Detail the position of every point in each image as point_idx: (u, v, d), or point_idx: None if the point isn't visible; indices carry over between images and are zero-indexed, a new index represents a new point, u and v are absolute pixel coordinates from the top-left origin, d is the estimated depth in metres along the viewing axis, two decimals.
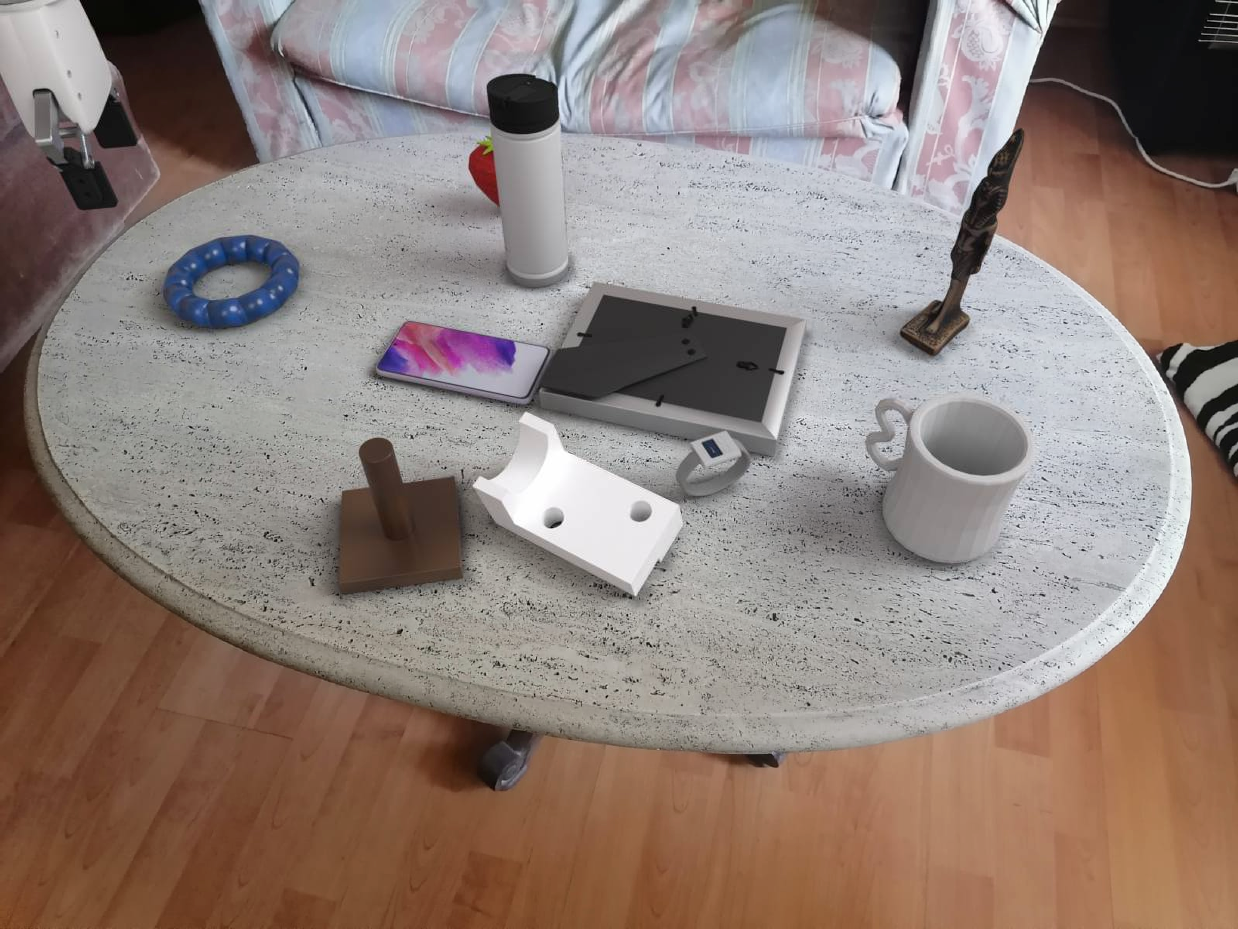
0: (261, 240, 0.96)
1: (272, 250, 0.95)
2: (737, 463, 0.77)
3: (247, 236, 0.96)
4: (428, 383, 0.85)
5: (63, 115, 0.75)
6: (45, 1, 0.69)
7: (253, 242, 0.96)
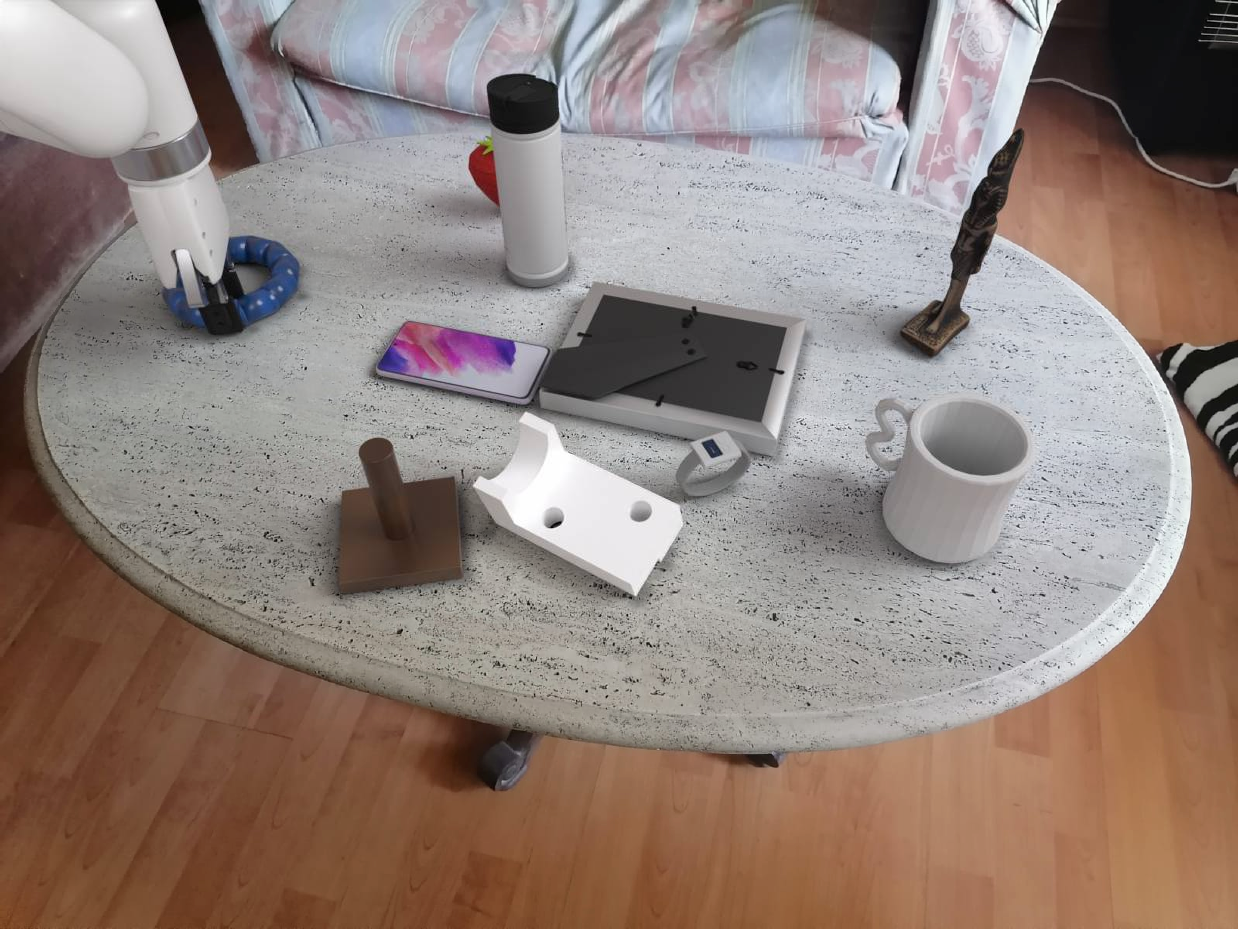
0: (261, 241, 0.96)
1: (272, 251, 0.95)
2: (737, 463, 0.77)
3: (247, 237, 0.96)
4: (428, 383, 0.85)
5: None
6: (187, 175, 0.77)
7: (253, 243, 0.96)
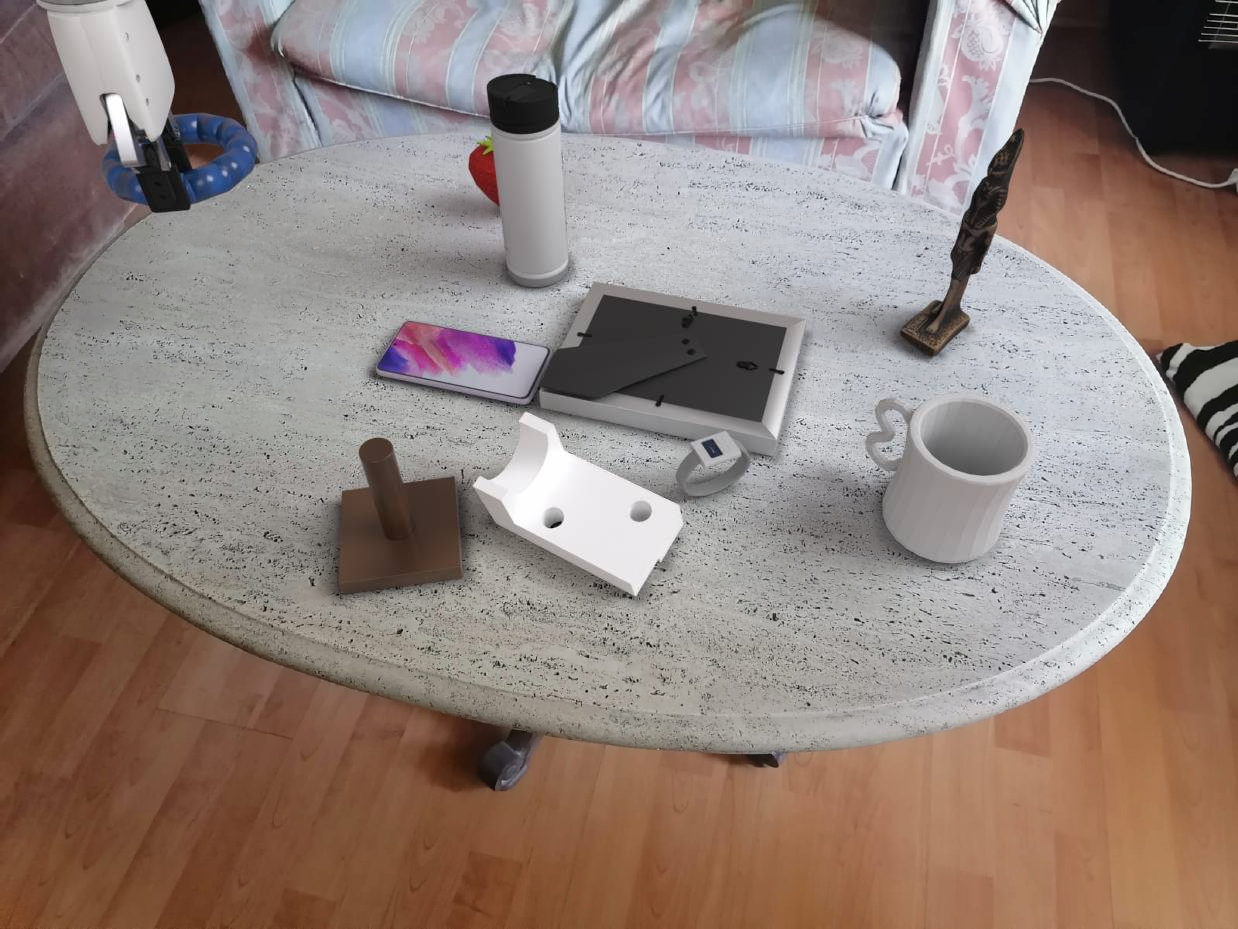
0: (214, 117, 0.85)
1: (226, 127, 0.84)
2: (737, 463, 0.77)
3: (199, 114, 0.86)
4: (428, 383, 0.85)
5: None
6: (117, 2, 0.66)
7: (205, 120, 0.85)
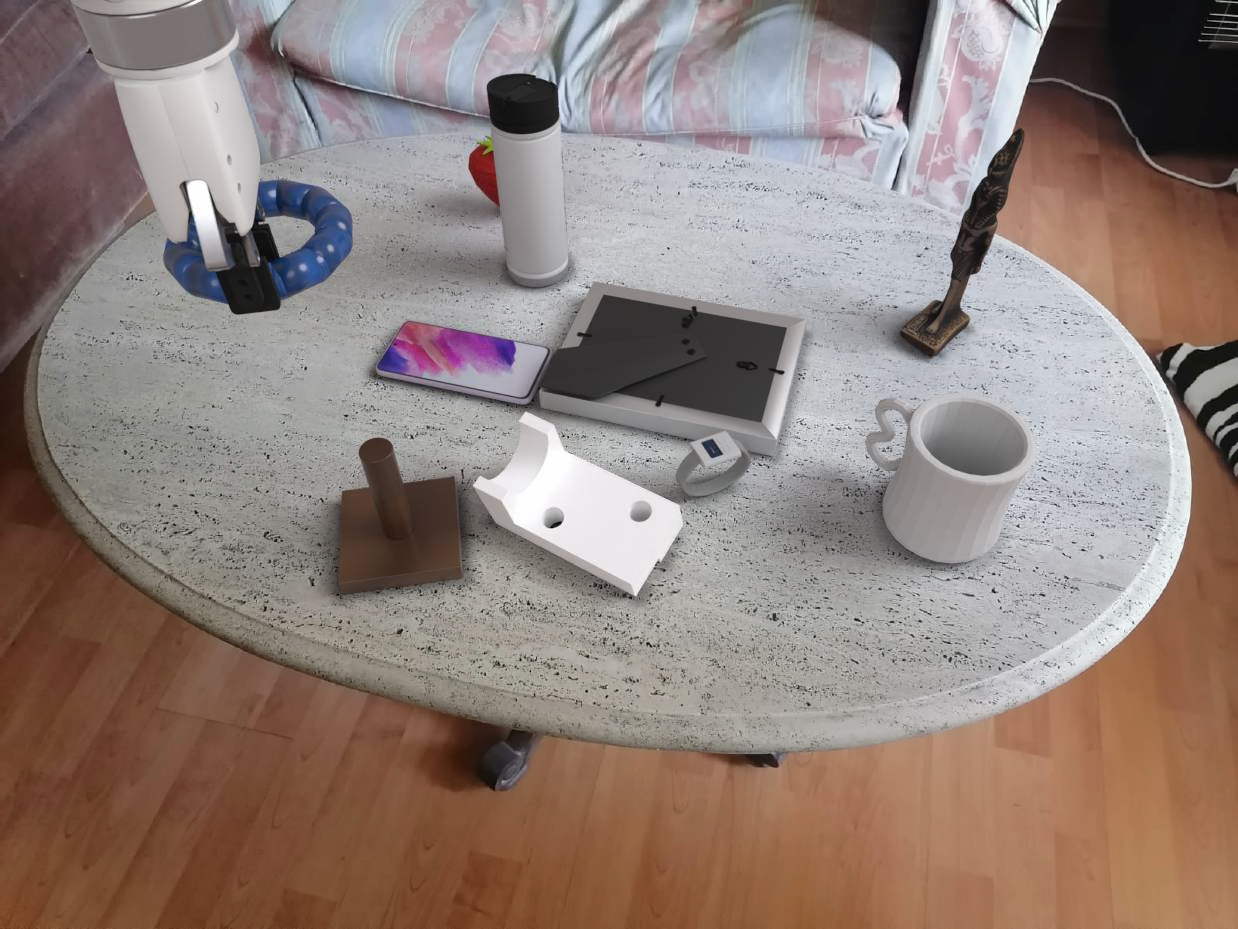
0: (298, 186, 0.69)
1: (314, 199, 0.68)
2: (737, 463, 0.77)
3: (278, 181, 0.70)
4: (428, 383, 0.85)
5: None
6: (205, 64, 0.50)
7: (287, 189, 0.69)
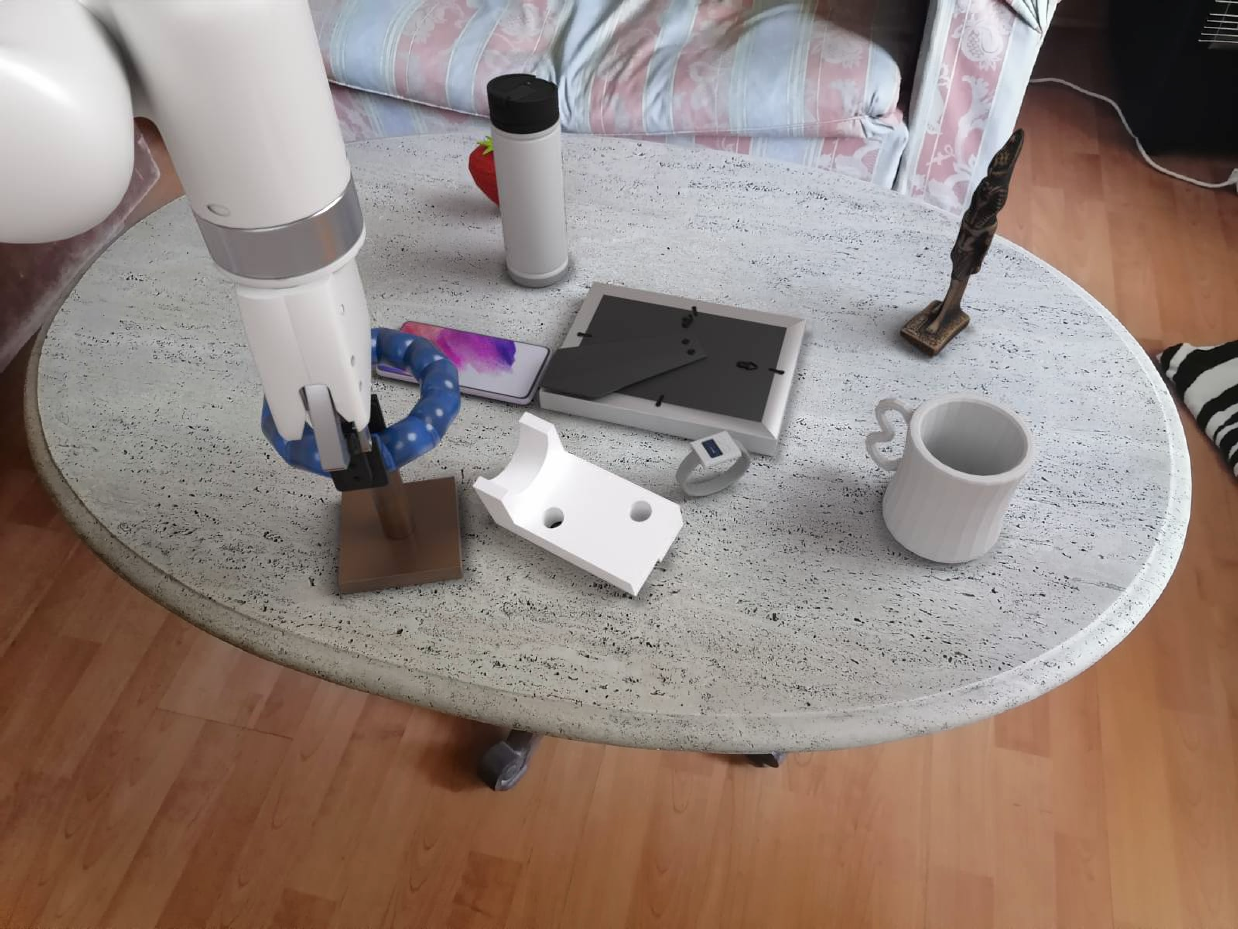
0: (400, 337, 0.65)
1: (419, 353, 0.64)
2: (737, 463, 0.77)
3: (378, 331, 0.65)
4: None
5: None
6: (333, 268, 0.45)
7: (388, 340, 0.65)
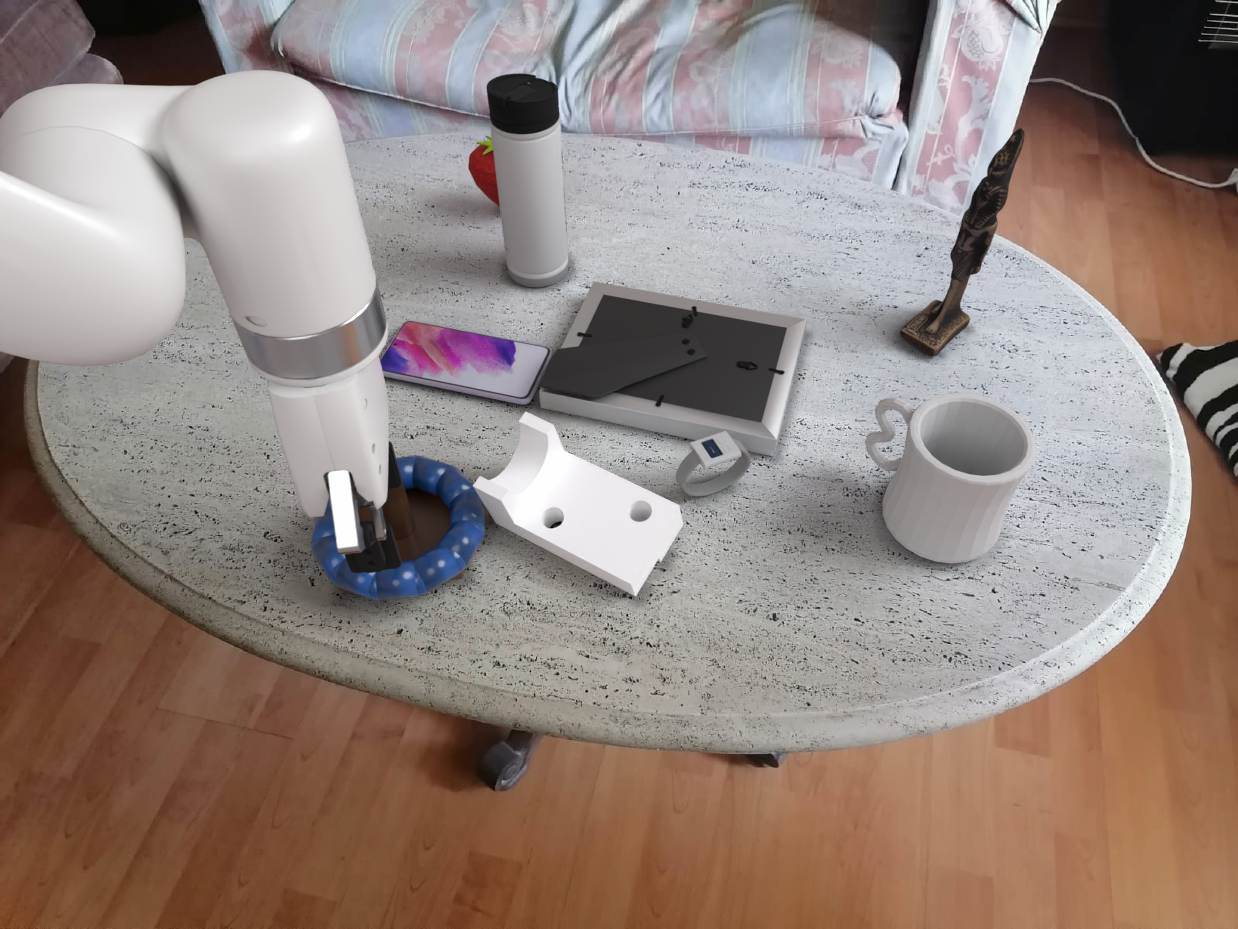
0: (433, 467, 0.74)
1: (449, 484, 0.73)
2: (737, 463, 0.77)
3: (414, 460, 0.74)
4: (428, 383, 0.85)
5: None
6: (358, 368, 0.49)
7: (423, 469, 0.74)
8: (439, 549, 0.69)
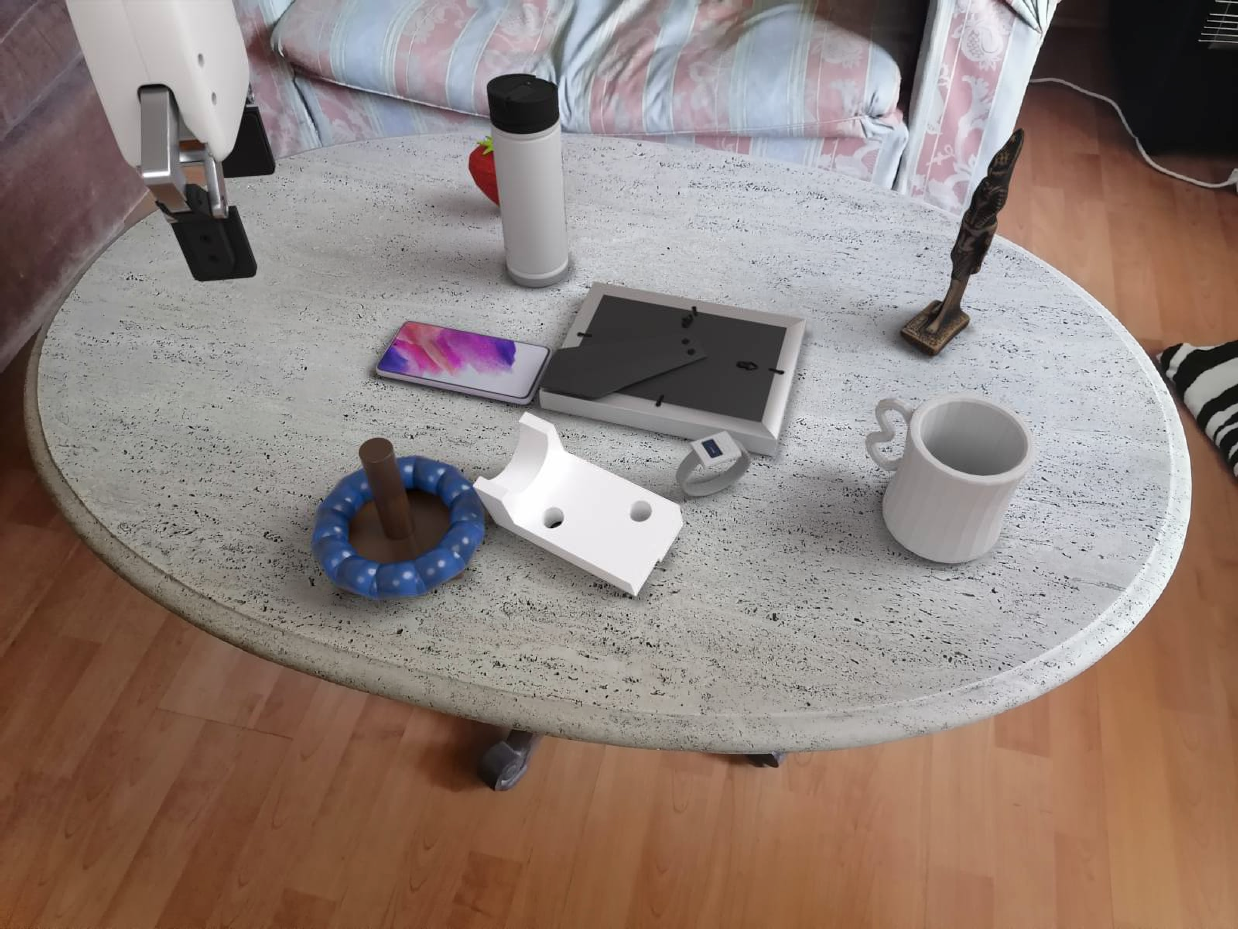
0: (433, 467, 0.74)
1: (449, 484, 0.73)
2: (737, 463, 0.77)
3: (414, 460, 0.74)
4: (428, 383, 0.85)
5: (181, 130, 0.45)
6: None
7: (423, 469, 0.74)
8: (439, 549, 0.69)
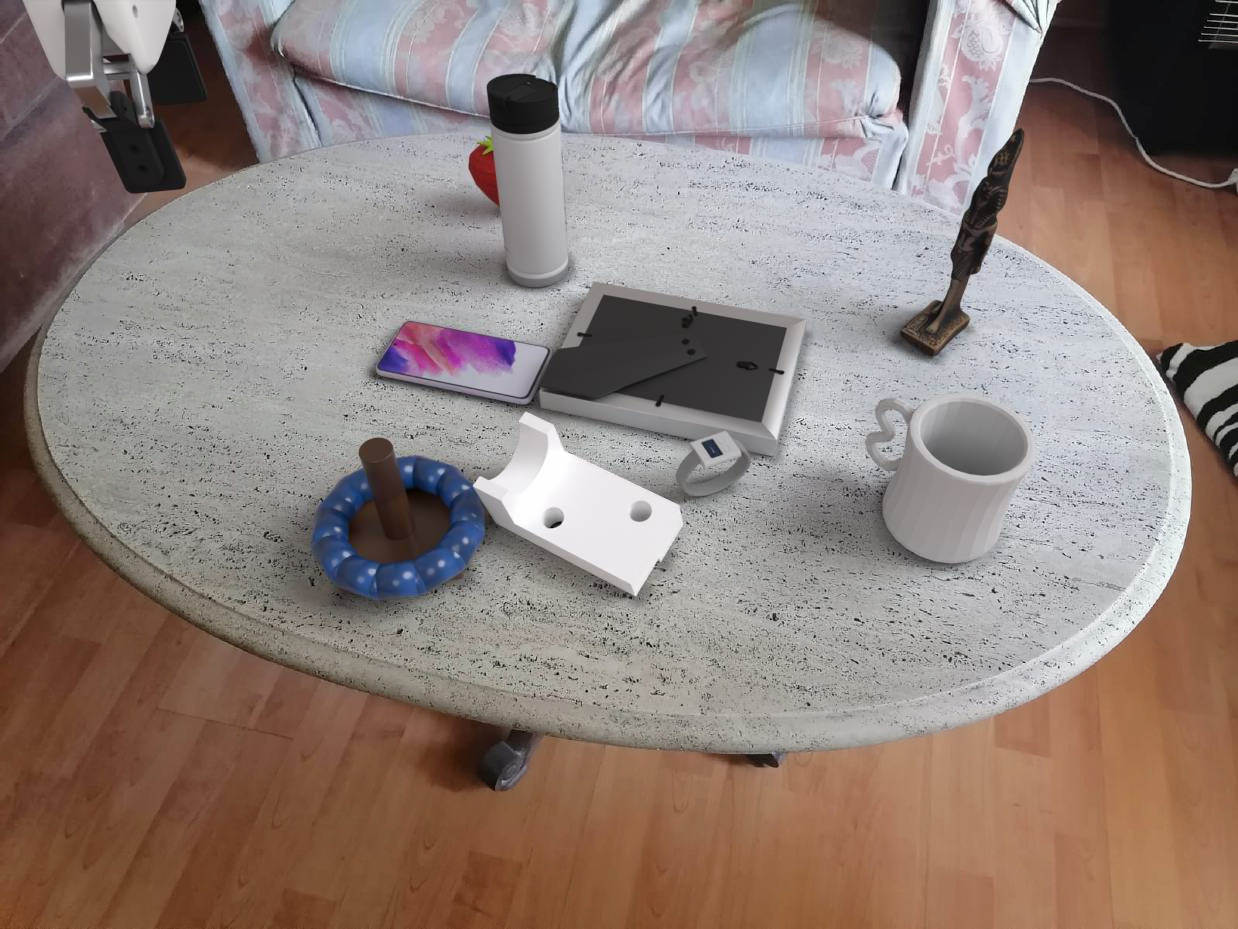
0: (433, 467, 0.74)
1: (449, 484, 0.73)
2: (737, 463, 0.77)
3: (414, 460, 0.74)
4: (428, 383, 0.85)
5: (107, 44, 0.48)
6: None
7: (423, 469, 0.74)
8: (439, 549, 0.69)
